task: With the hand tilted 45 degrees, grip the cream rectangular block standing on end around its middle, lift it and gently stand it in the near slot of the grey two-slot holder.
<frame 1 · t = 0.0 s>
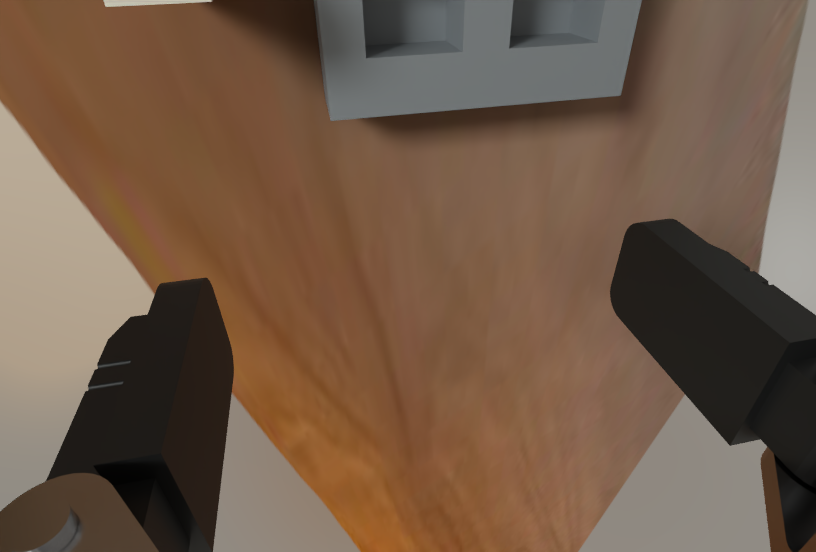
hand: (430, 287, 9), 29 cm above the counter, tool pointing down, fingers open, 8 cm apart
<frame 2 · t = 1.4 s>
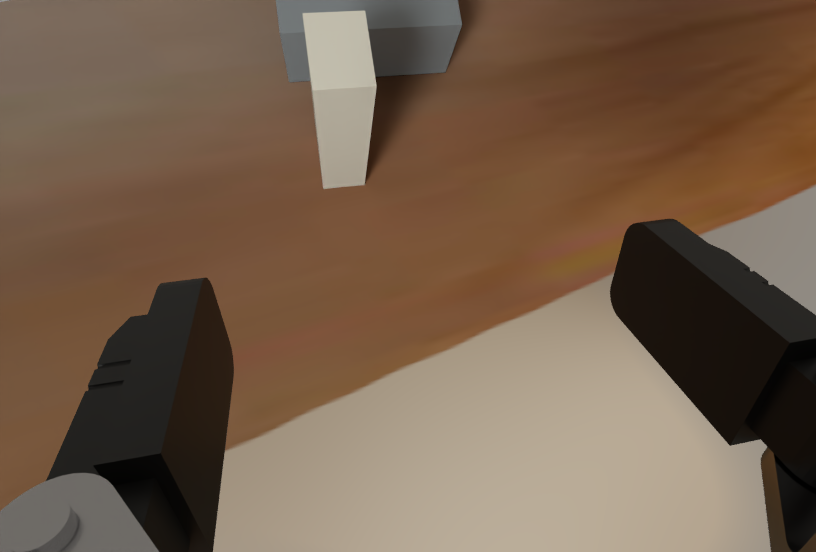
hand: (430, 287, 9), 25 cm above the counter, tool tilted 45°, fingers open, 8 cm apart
cream rectangular block: (340, 160, 36), on the counter
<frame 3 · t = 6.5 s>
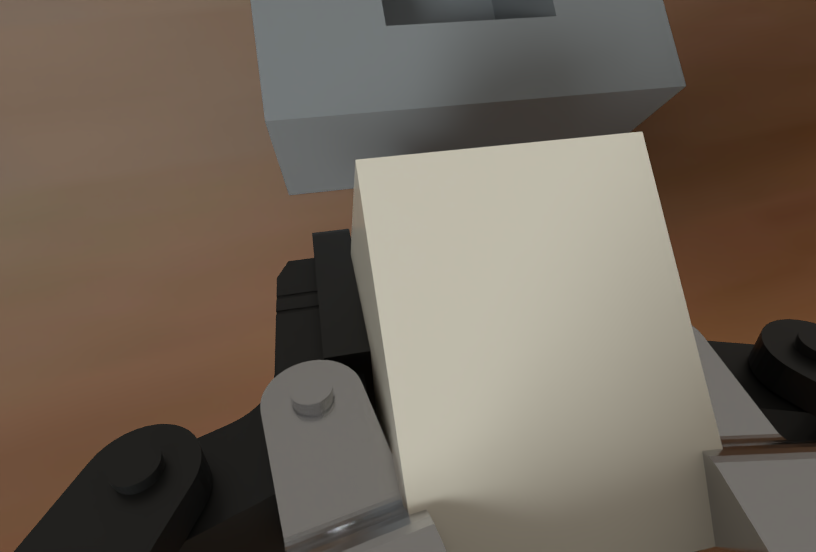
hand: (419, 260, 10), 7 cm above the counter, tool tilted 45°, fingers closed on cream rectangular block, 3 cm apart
cream rectangular block: (398, 360, 17), on the counter, touching gripper
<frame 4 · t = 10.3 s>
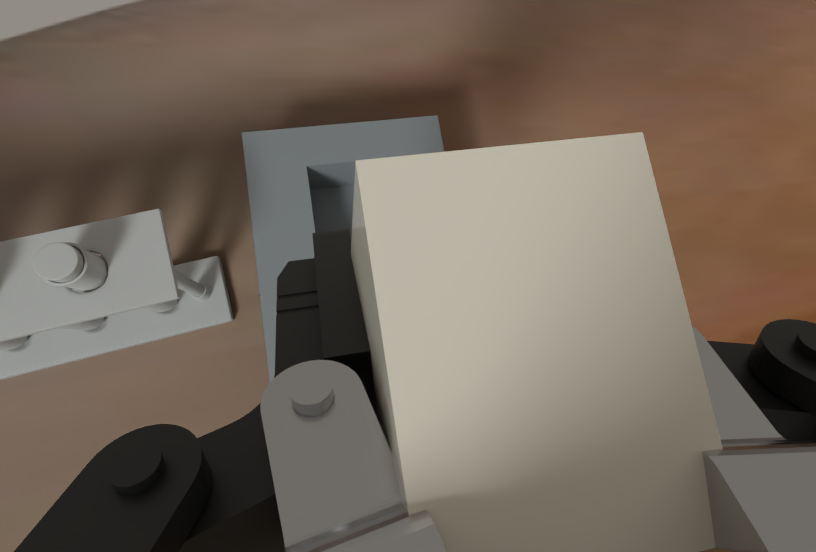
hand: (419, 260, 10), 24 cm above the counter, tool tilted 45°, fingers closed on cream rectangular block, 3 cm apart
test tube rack: (27, 338, 31), on the counter
cream rectangular block: (398, 361, 17), point 16 cm above the counter, touching gripper
grey two-slot holder: (362, 296, 34), on the counter
when the fingers open (10 cm above the counter, at t = 14.1 s): cream rectangular block stays where it is, resting on grey two-slot holder.
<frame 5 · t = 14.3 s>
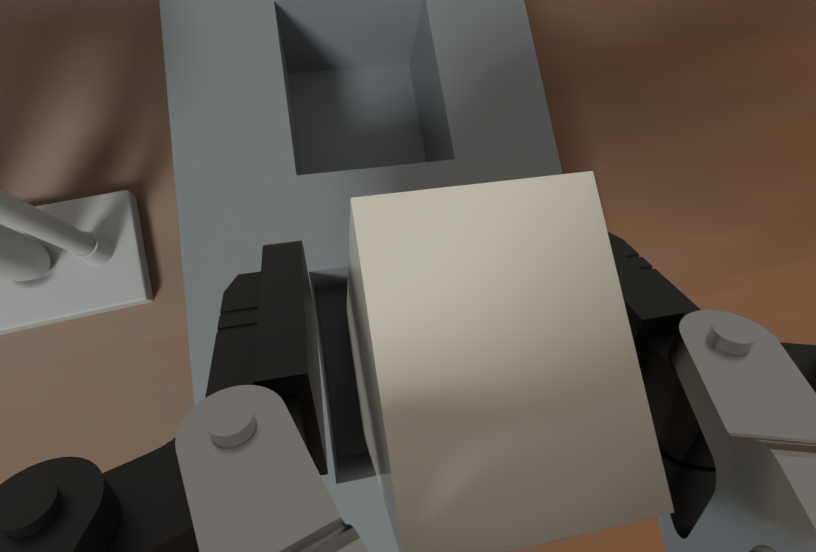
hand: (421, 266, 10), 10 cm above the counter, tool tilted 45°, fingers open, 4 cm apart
cream rectangular block: (394, 364, 18), point 2 cm above the counter, touching grey two-slot holder
grey two-slot holder: (374, 253, 20), on the counter
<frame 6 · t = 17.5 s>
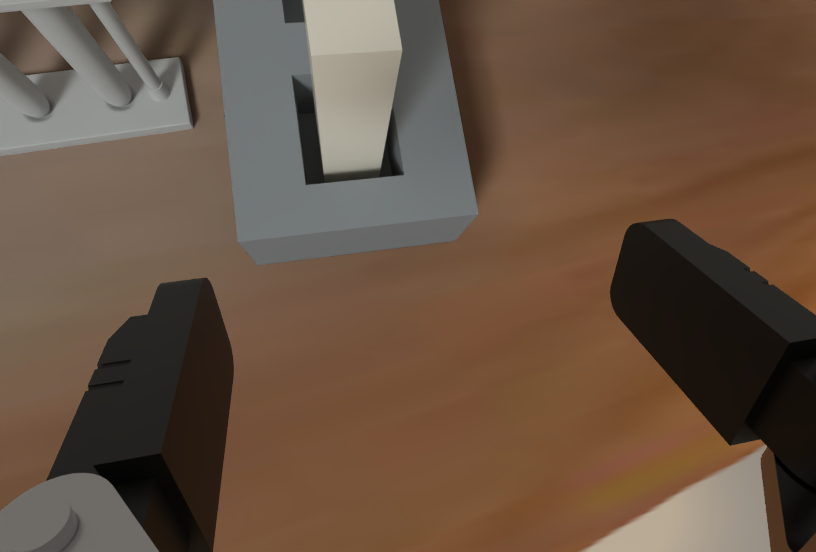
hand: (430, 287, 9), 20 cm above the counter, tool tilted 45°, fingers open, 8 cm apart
cream rectangular block: (347, 159, 29), point 1 cm above the counter, touching grey two-slot holder
grey two-slot holder: (337, 101, 31), on the counter
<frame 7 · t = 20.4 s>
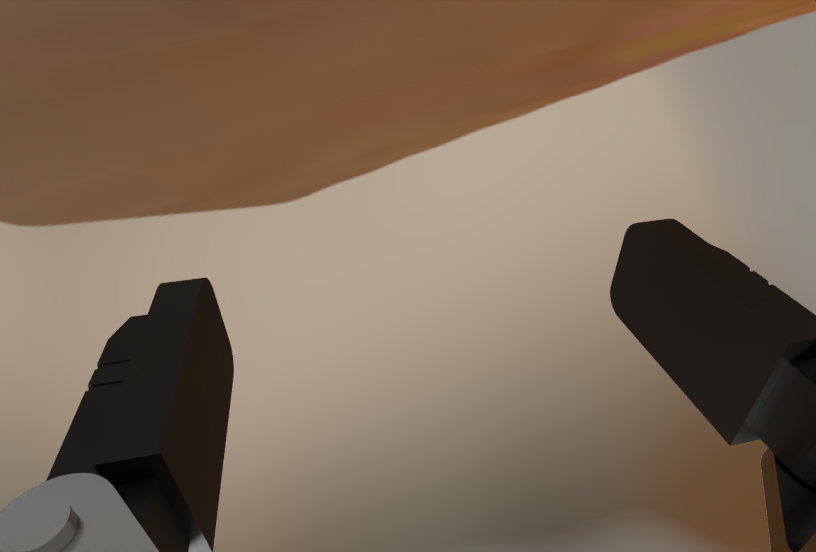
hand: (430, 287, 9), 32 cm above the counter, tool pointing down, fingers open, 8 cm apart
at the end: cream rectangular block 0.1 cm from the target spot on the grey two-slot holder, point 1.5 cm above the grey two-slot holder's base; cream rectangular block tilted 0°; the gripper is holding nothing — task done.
